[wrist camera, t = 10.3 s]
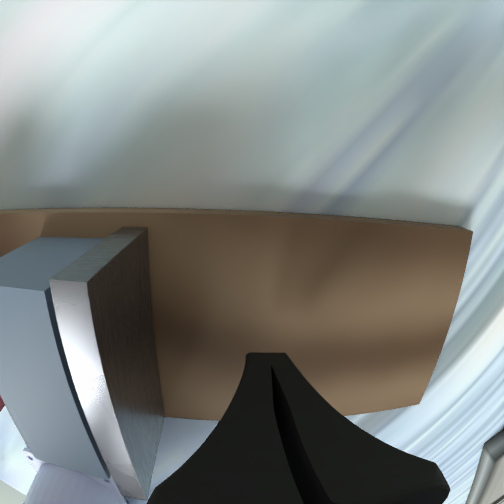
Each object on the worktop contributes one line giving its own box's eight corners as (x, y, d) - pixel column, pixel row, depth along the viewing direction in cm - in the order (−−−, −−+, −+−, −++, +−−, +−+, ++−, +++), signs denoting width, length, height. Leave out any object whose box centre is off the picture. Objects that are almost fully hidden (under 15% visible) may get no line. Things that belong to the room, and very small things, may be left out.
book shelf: (412, 393, 16) (465, 478, 9) (-41, 356, 14) (-93, 411, 7) (460, 226, 13) (570, 276, 6) (-75, 214, 11) (-153, 246, 4)
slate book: (135, 399, 13) (108, 479, 9) (73, 389, 13) (35, 458, 8) (112, 238, 11) (44, 291, 6) (39, 236, 11) (-40, 279, 6)
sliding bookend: (165, 413, 14) (147, 500, 9) (145, 410, 13) (122, 496, 8) (147, 227, 11) (86, 282, 6) (121, 226, 11) (48, 279, 6)
